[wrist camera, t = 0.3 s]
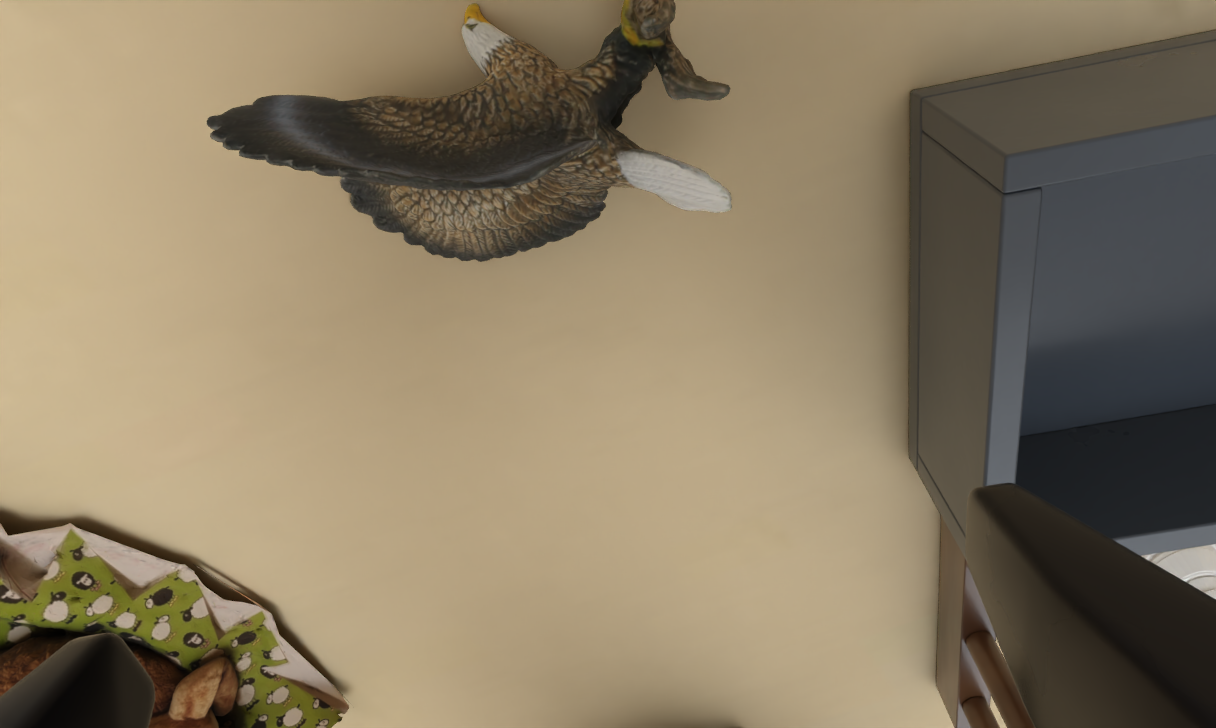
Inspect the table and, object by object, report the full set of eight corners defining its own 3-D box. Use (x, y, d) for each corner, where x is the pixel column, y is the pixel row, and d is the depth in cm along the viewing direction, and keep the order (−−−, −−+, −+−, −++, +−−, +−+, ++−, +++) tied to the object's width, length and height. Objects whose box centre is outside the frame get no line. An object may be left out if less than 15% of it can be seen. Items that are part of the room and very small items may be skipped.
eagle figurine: (545, -232, 16) (160, 30, 16) (735, -32, 12) (238, 290, 13) (650, 54, 22) (375, 231, 23) (792, 235, 19) (463, 438, 19)
